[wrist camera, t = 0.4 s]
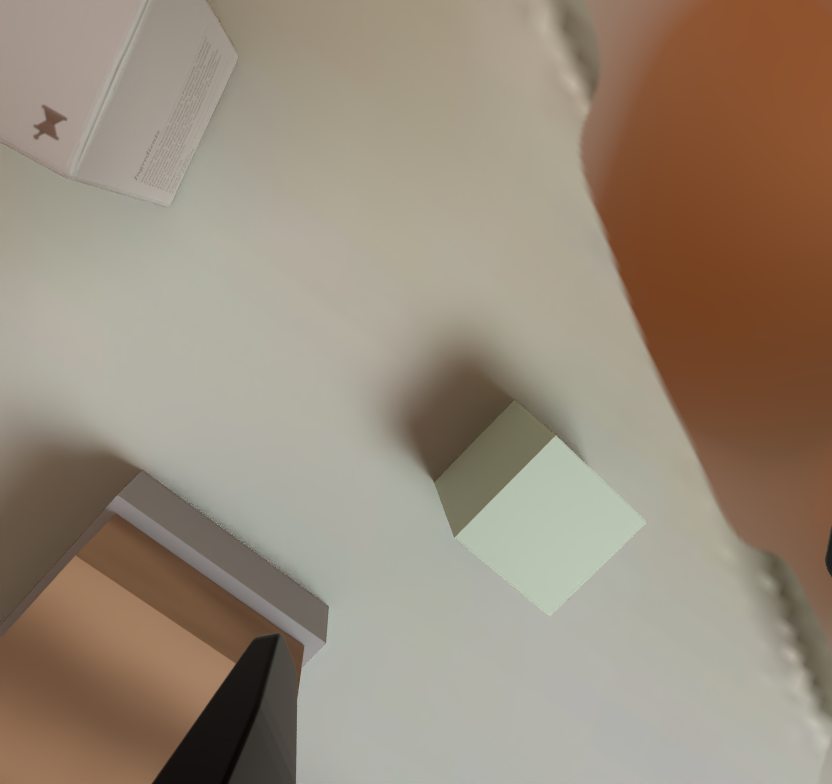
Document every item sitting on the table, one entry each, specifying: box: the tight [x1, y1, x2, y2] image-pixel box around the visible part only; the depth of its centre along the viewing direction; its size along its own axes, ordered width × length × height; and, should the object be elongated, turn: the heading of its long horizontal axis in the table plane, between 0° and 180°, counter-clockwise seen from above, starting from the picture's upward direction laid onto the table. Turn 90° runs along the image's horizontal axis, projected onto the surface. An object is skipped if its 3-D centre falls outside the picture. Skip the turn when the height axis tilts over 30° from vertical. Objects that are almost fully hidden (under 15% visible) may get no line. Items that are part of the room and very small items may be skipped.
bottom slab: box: [0, 470, 329, 667], centre depth 23 cm, size 10×10×3 cm
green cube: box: [434, 399, 647, 617], centre depth 22 cm, size 5×5×5 cm
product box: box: [0, 0, 238, 207], centre depth 15 cm, size 6×6×7 cm
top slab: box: [0, 513, 304, 784], centre depth 20 cm, size 9×9×3 cm
